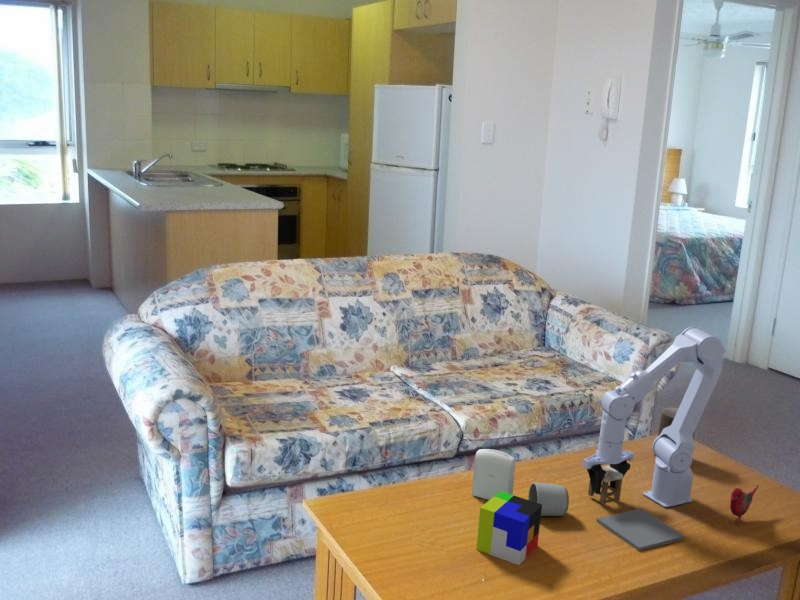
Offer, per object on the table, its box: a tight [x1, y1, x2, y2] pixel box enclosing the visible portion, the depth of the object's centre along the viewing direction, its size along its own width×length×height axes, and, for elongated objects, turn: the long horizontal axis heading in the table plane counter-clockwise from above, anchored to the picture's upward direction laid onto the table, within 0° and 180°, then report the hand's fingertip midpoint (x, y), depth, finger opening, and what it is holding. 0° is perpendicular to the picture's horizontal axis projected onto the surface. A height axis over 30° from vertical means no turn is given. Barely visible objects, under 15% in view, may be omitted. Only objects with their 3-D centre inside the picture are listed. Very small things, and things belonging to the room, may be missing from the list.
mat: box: [596, 508, 686, 552], centre depth 192 cm, size 14×14×1 cm
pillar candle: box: [654, 407, 697, 458], centre depth 233 cm, size 10×10×15 cm
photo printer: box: [471, 448, 516, 501], centre depth 202 cm, size 10×4×12 cm, turn 63°
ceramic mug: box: [527, 481, 570, 517], centre depth 198 cm, size 11×8×8 cm
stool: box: [587, 465, 624, 505], centre depth 205 cm, size 5×5×7 cm
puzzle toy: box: [475, 491, 542, 566], centre depth 180 cm, size 10×10×10 cm
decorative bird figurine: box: [729, 484, 759, 524], centre depth 200 cm, size 3×18×10 cm, turn 137°
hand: (604, 490), depth 206 cm, fingers closed on stool, 5 cm apart
